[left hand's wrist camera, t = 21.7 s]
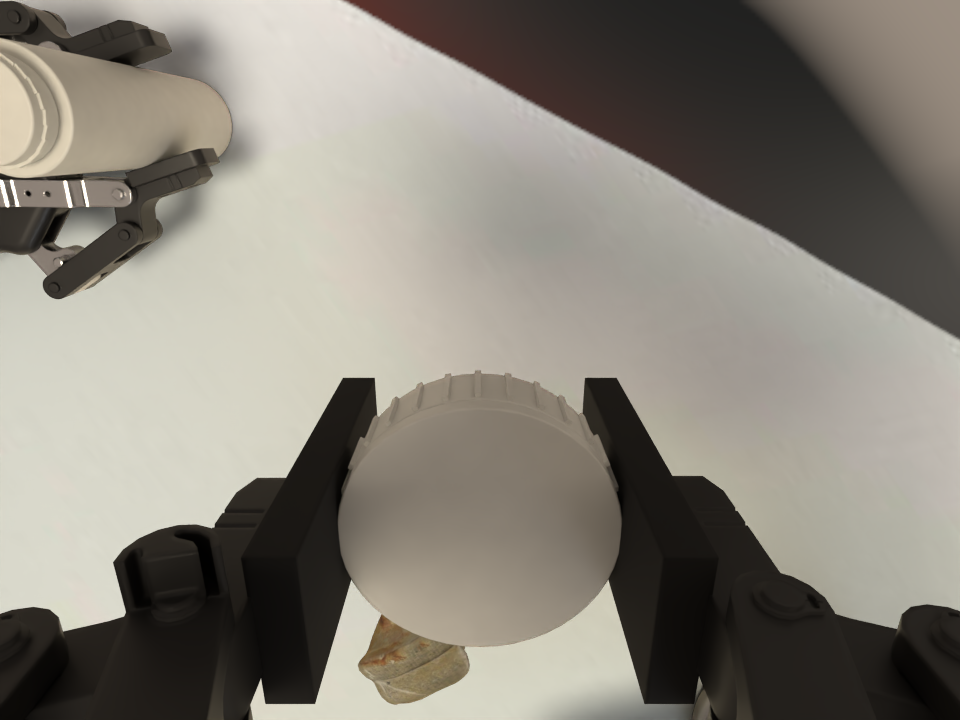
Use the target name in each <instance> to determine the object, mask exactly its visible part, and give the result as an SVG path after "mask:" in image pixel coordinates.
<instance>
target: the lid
mask: <svg viewBox="0 0 960 720" xmlns="http://www.w3.org/2000/svg"><path fill="white" fill-rule="evenodd" d="M348 469H349V471H348V474H347V476H346V479H345V481H344V484H343V486H342V489H341V492H342V498H341V501H340V504H339V510H338V531H339V541H340V551H341V556H342V559H343V562H344V565H345V568H346V570H347V572H348V573H349V575H350V577H351V579H352V581H353V583H354V584H355V586H356V587H357V588H358V590H359V591H360V593H361V594H362V595H363V596H364V597H365V599H366V600H367V601H368V602H369V603H370V604H371V605H372V606H373V607H374V608H375V609H376V610H378V611H379V612H380V613H381V614H382V615H384V616H385V617H386V618H388V619H389V620H391V621H392V622H394V623H395V624H397V625H398V626H400V627H402V628H404V629H406V630H408V631H410V632H412V633H414V634H417V635H419V636H422V637H425V638H428V639H430V640H434V641H438V642H442V643H446V644H452V645H459V646H471V647H488V646H501V645H507V644H514V643H518V642H521V641H525V640H529V639H532V638H535V637H537V636H540V635H543V634H545V633H548V632H550V631H552V630H553V629H555V628H557V627H559V626H561V625H563V624H564V623H566V622H567V621H569V620H570V619H572V618H573V617H575V616H576V615H577V614H578V613H580V612H581V611H582V610H583V609H584V608H585V607H587V606H588V605H589V604H590V602H591V601H592V600H593V599H594V598H595V597H596V596H597V595H598V594H599V592H600V591H601V589H602V588H603V586H604V585H605V584H606V582H607V581H608V579H609V577H610V575H611V573H612V571H613V569H614V566H615V563H616V561H617V558H618V555H619V547H620V538H621V527H622V514H621V506H620V502H619V499H618V496H617V492H618V488H619V486H618V484H617V481H616V479H615V476H614V474H613V471H612V469H611V466H610V463H609V460H608V458H607V455H606V453H605V450H604V448H603V445H602V443H601V440H600V438H599V436H598V434H597V435H593V434H592V432H591V431H590V429H589V426H588V423H587V421H586V418H585V416H584V415H583V414H582V413H580V414H579V415H578V414H577V413H576V412H575V411H574V410H573V409H572V408H571V407H570V406H569V405H567V404H566V401H565V398H564V397H563V396H562V395H559V397H557V396H555V395H554V394H552V393H550V392H549V391H547V390H545V389H543V388H541V387H540V383H538V382H536V381H534V383H533V384H532V383H529V382H526V381H523V380H520V379H517V378H513V377H511V374H509V373H505V376H502V375H494V374H481V371H475V374H466V375H458V376H452V377H451V374H446V375H445V378H443V379H440V380H437V381H433V382H430V383H427V384H425V385H423V383H422V382H421V383H419V384H417V387H416V389H415V390H412V391H411V392H409V393H408V394H406V395H404V396H403V397H401V398H400V399H398V397H395V398H394V399H393V400H392V403H391V406H390V407H389V408H387V409H386V410H385V411H384V412H383V413H382V415H381V416H380V417H378V416H377V415H375V416H374V418H373V419H372V422H371V425H370V427H369V430H368V432H367V435H366V437H365V438H362V437H360V439H359V441H358V444H357V446H356V449H355V451H354V454H353V456H352V459H351V461H350V464H349V466H348Z"/></svg>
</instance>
